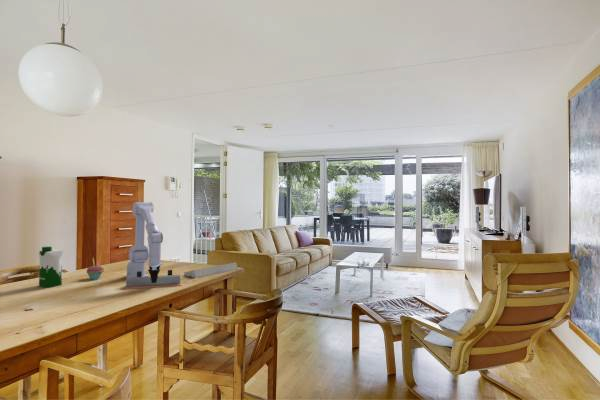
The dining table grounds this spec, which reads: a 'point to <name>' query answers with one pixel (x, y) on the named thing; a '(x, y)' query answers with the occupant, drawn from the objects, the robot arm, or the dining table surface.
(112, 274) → the dining table surface
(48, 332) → the dining table surface
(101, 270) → the cupcake
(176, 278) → the rail
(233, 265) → the decorative molding
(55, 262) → the milk carton
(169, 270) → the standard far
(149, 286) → the mat
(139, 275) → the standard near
